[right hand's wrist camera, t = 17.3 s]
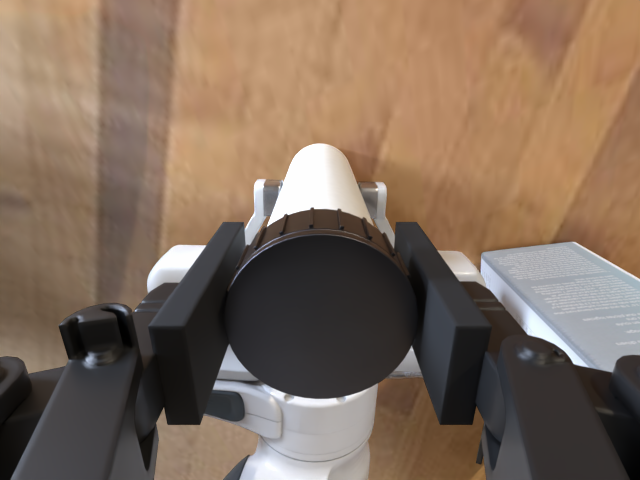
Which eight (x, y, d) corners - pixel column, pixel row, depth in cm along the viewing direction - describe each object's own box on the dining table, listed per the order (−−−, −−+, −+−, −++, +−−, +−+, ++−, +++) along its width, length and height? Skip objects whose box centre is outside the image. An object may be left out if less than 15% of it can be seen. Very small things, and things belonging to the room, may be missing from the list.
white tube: (290, 205, 28) (246, 373, 12) (288, 143, 27) (234, 236, 10) (350, 205, 28) (394, 374, 12) (352, 143, 27) (407, 236, 10)
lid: (393, 357, 13) (406, 405, 11) (238, 351, 13) (224, 398, 11) (416, 211, 11) (437, 237, 9) (234, 201, 11) (215, 226, 9)
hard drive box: (557, 392, 35) (828, 736, 16) (473, 400, 35) (644, 747, 17) (577, 236, 29) (1029, 495, 11) (477, 248, 29) (743, 518, 11)
